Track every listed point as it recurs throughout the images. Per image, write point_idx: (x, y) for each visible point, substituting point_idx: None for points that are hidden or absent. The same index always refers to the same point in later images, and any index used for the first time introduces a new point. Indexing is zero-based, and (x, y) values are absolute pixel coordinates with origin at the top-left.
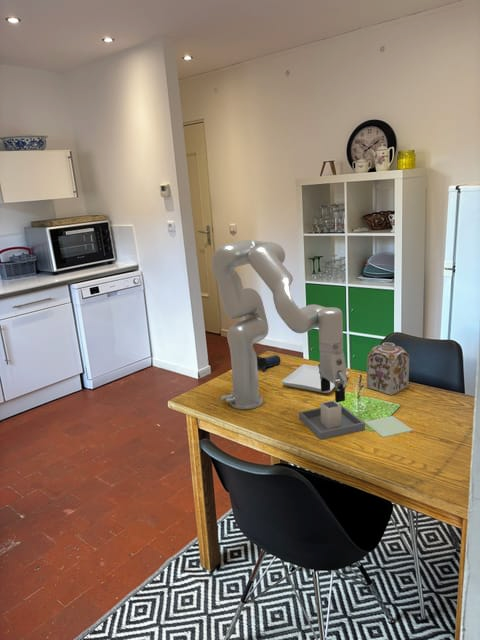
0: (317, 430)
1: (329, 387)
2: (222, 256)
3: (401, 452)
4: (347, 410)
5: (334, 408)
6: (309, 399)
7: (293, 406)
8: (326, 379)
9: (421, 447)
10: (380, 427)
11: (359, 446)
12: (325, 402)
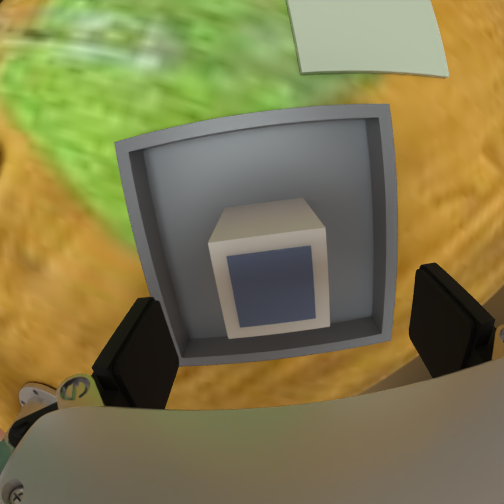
0: (364, 344)
1: (151, 318)
2: None
3: None
4: (208, 127)
5: (327, 279)
6: (18, 243)
7: (69, 321)
8: (123, 404)
9: (496, 15)
10: (376, 35)
11: (461, 195)
12: (225, 308)
